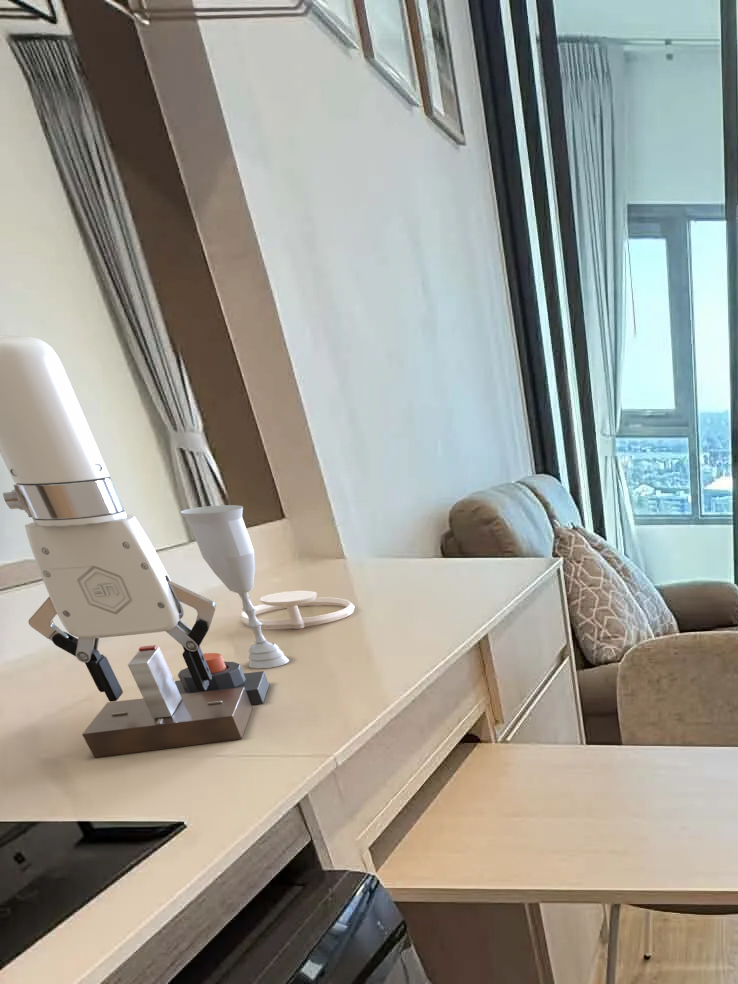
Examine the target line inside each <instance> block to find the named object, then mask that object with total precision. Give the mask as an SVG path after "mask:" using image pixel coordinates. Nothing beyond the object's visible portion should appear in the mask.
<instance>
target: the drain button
mask: <svg viewBox="0 0 738 984" xmlns="http://www.w3.org/2000/svg"><path fill="white" fill-rule="evenodd" d="M203 655H204V658H205V660H206V663H207V665H208V667H209V670H210V672H211V674H212V673H216V672H220V671H224V670H226V669H227V668H226V665H225V663H224V662H225V660H224V658H223V656H222V654H221V653H217V652H206V653H203Z"/></svg>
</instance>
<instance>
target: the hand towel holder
mask: <svg viewBox="0 0 738 984" xmlns="http://www.w3.org/2000/svg"><path fill="white" fill-rule="evenodd" d="M317 596H318V593H317V591H311V590H287V591H281V592H280V591H279V592H274V593H270V594H267V595H266V594H265V595H263V596H261V597H259V602H261V603H262V604H258V605H257V604H256V605H253V606H254V607H255V608H256V609H255V616H257V615H261V614H263V613H266V612H271V611H274V610H275V611H276V610H281V609H286V610H287V612H288V615H289V619H258V618H257V620H258V621H259V622H260V623H262V625H261V629H262V628H263V629H288V628H289V629H290V628H293V629H295V630H298V629H299V630H300V629H304V628H305V627H308V626H316V625H321V624H326V623H331V622H336V621H338V620H339V621H340V620H341V619H345V618H347V617H349V616H351V615H352V614H353V613H354V611H355V608H356V606H355V605H354V604H353V603H352V601H350V600H349V599H345V598H338V597H326V596H325V597H322V596H321V597H317ZM307 606H337V607H344V608H342V609H339V610H337V611H332V612H328V613H325V614H320V615H314V616H309V617H302V616H301V613H300V610H299V607H307ZM239 619H240V621H241V622H242V623H243V624H244V625H246V626H248V624H249V617H248V616H247V614H246V613H245V612H244V611H243V610H242V612H241V613H240V615H239Z"/></svg>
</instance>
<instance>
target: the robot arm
mask: <svg viewBox="0 0 738 984" xmlns="http://www.w3.org/2000/svg"><path fill="white" fill-rule="evenodd" d="M0 456H1V458H2V460H3V462H4V463H5V466H6V468H7V470H8V472H9V474H10V476H11V478H12V480H13V482H14V484H13V487H14V489H12V490H11V491H5V492H2V497H3V500H4V502H5V505H7V507H8V508H9V509H10V510H20V511H24V512H25V513H26V514H27V516H28V518H32V521H33V522H30V523H27V524H25V525H24V528H25V532H26V535H27V539H28V543H29V545H30V546H29V547H30V548H31V552H32V555H33V557H34V560H35V562H36V566H37V568H38V571H39V573H40V576H41V579H42V581H43V584H44V587H45V588H46V592H47V594H48V595H49V596H48V597H47V598H46V599H45V601H44V602H43V603H41V605H40V606H39V607H38V609H37V610H36V611H35V612H34V613H33V615H31V616H30V618H29V619H28V622H27V623H28V625H29V626H30V627H31V628H32V629H34V630H35V631H37V632H38V633H39V634H41V636H43V637H44V638H46V639H48V640H50V641H51V642H52V643H53V644H54V646H56V647H58V648H59V649H62V650H64V651H65V652H66V653H68V654H70V655H72V656H73V657H75V658H76V659H77V660H78V661H79V662H80V663H84V664H85V666H86V668H87V670H88V673H89V674H90V676H91V678H92V680H93V682H94V684H95V686H96V688H97V690H98V691H99V692H100V693H104V694H105V696H106V698H107V700H108V702H115V701H119V699H120V697H121V696H122V695H123V693H124V691H123V689H122V687H121V685H120V683H119V681H118V678H117V676H116V674H115V672H114V670H113V668H112V666H111V664H110V662H109V659H108V658H107V657H106V656H105V655H104V654H103V653H102V654H101V653H100V651H99V650H98V648H99V645H100V644H99V643H100V639H103V638H113V637H123V636H124V637H125V636H135V635H144V634H153V633H154V634H155V633H162V632H166V633H167V634H168V635H169V636H171V638H173V639H174V640H175V641H176V642H178V644H180V645H181V646H182V648H183V652H182V653H181V654H182V658H183V660H184V662H185V665H186V668H188V669H189V672H190V674H191V676H192V679H193V681H194V683H195V686H196V688H197V690H200V691H206V690H207V688H208V686H209V681H208V680H211V679H212V676H211V672H210V670H209V667H208V665H207V663H206V660H205V658H204V655H203V654H204V653H203V651H202V649H201V644H202V642H203V640H204V639H205V637H206V635H207V633H208V632H209V630H210V628H211V624H212V622H213V618H214V615H215V612H216V609H217V605H216V604H215V602H214V601H213V600H212V599H209V598H207V597H204V596H202V595H201V594H198V593H196V592H195V591H192V590H191V589H188V588H186V587H184V586H181V585H179V584H178V583H175V582H173V581H172V580H171V578H170V576H169V574H168V572H167V570H166V568H165V566H164V564H163V563H162V560H161V559H160V557H159V555H158V553H157V551H156V549H155V547H154V545H153V544H152V542H151V540H150V538H149V536H148V535H147V534H146V532H145V530H144V529H143V527H142V526H141V523H140V522H139V520H138V519H137V518H136V516H135V514H134V515H133V514H127V513H126V510H125V508H124V506H123V504H122V501H121V498H120V497H119V494H118V491H117V489H116V487H115V485H114V482H113V480H112V478H111V476H110V473H109V471H108V469H107V466H106V463H105V461H104V459H103V457H102V455H101V452H100V450H99V448H98V445H97V443H96V440H95V438H94V436H93V434H92V430H91V429H90V426H89V424H88V421H87V419H86V417H85V415H84V412H83V410H82V408H81V406H80V403H79V401H78V398H77V395H76V394H75V391H74V389H73V387H72V384H71V382H70V380H69V377H68V375H67V372H66V370H65V368H64V365H63V364H62V361H61V360H60V358H59V356H58V354H57V353H56V351H55V349H53V348H52V346H51V345H50V344H48V342H46V341H44V340H43V339H40V338H38V337H34V336H28V335H7V334H6V335H5V334H4V335H0ZM182 604H184V605H186V606H189V607H190V608H193V609H194V610H195V611H196V612H197V616H196V619H195V623H194V625H193V626H192V628H191V627H190V626H188V625H187V623H185V622H184V621H183V620H182V618H183V617H184V608H183V605H182ZM57 616H58V618H59V620H60V622H61V624H62V626H63V627H64V629H65V631H64V630H62V629H61V628H59V627H58V625H56V624H55V622H54V618H55V617H57Z"/></svg>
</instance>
